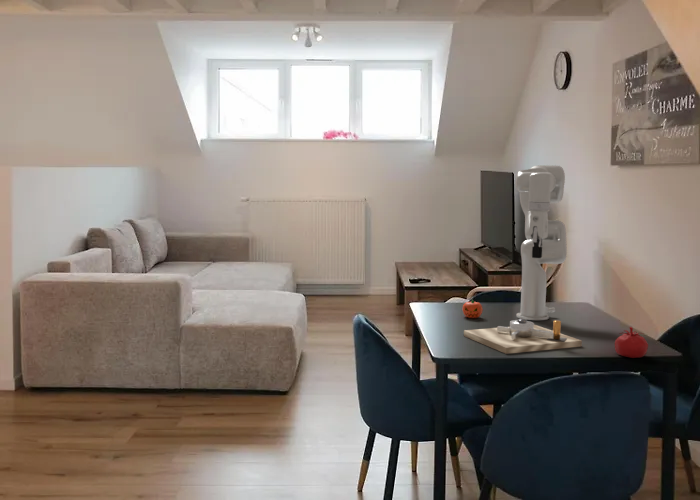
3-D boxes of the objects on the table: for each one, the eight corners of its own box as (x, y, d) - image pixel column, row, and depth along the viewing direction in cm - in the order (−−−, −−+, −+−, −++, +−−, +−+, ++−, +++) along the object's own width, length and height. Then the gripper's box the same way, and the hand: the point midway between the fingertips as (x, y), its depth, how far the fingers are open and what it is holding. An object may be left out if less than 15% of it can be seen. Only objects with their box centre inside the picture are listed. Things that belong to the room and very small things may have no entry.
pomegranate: (630, 361, 221) (632, 332, 219) (607, 353, 230) (608, 325, 228) (654, 358, 225) (656, 329, 223) (630, 350, 234) (632, 322, 232)
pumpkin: (463, 315, 288) (464, 297, 288) (483, 316, 286) (484, 298, 285) (460, 318, 281) (461, 300, 280) (480, 320, 279) (481, 301, 278)
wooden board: (534, 330, 262) (534, 324, 262) (581, 346, 238) (581, 340, 238) (463, 335, 251) (463, 329, 251) (505, 353, 227) (506, 347, 227)
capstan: (489, 335, 242) (489, 318, 241) (505, 326, 256) (506, 310, 255) (552, 344, 230) (553, 325, 230) (566, 334, 245) (567, 317, 244)
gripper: (545, 208, 248) (543, 260, 250) (553, 206, 261) (551, 256, 263) (523, 207, 251) (521, 259, 253) (532, 206, 264) (530, 255, 266)
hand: (536, 257), depth 258 cm, fingers closed
